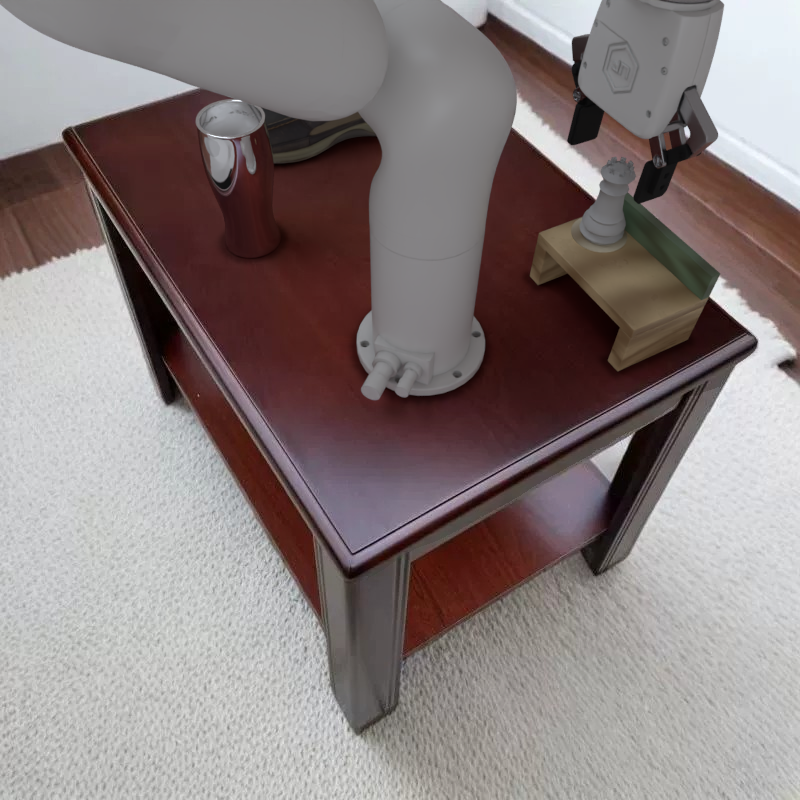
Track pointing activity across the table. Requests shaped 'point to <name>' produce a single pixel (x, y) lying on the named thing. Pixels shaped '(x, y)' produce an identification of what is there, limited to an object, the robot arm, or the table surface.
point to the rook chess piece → (609, 204)
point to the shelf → (632, 280)
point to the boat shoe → (310, 135)
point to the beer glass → (240, 174)
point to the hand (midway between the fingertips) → (613, 168)
